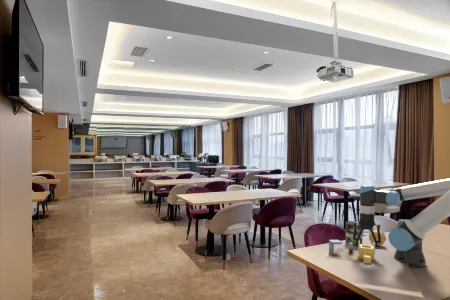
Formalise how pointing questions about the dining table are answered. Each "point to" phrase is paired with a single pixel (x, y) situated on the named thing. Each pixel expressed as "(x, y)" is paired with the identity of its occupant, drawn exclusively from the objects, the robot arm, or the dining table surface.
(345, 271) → the dining table surface
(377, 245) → the stress ball
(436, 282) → the dining table surface
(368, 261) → the link
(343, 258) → the board
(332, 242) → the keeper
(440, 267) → the dining table surface
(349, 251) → the pintle
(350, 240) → the coffee can
